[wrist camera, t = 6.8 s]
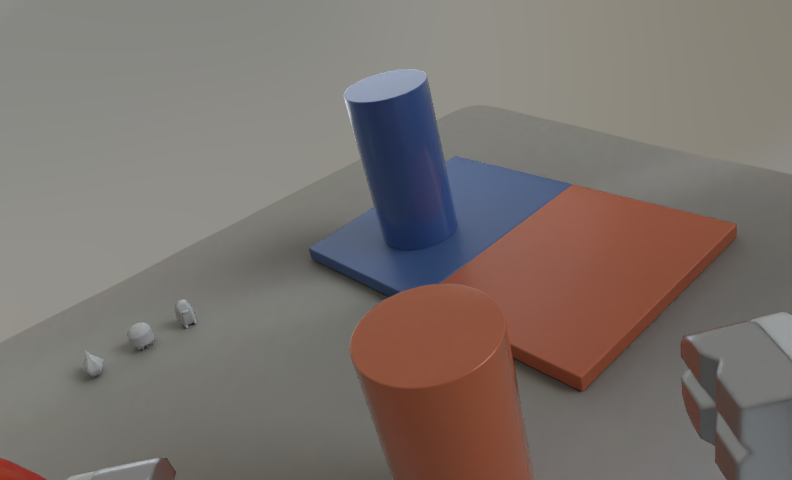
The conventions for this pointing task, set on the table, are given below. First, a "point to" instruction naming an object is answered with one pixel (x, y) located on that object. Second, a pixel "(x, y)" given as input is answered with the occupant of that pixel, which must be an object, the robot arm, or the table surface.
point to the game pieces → (141, 336)
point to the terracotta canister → (442, 385)
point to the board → (545, 262)
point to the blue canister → (402, 158)
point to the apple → (16, 472)
